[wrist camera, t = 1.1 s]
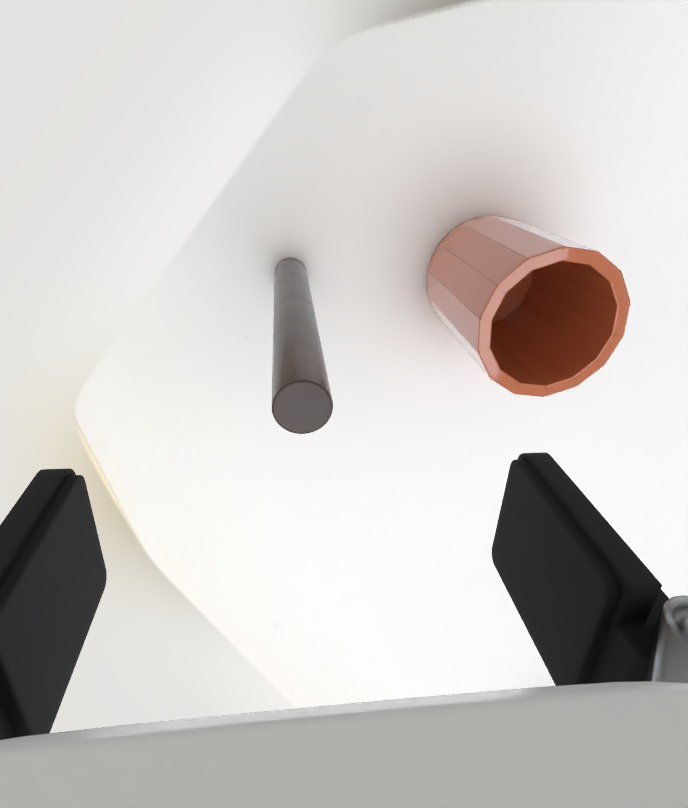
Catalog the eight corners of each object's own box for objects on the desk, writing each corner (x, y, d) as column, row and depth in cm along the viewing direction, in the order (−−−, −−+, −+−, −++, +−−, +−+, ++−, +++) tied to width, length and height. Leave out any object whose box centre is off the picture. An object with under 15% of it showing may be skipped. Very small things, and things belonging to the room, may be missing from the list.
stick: (267, 273, 29) (258, 409, 15) (290, 251, 29) (302, 368, 15) (290, 295, 30) (302, 444, 16) (313, 274, 29) (345, 407, 15)
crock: (402, 276, 30) (446, 328, 22) (497, 187, 28) (583, 210, 20) (469, 352, 33) (529, 423, 25) (560, 275, 31) (656, 326, 23)
